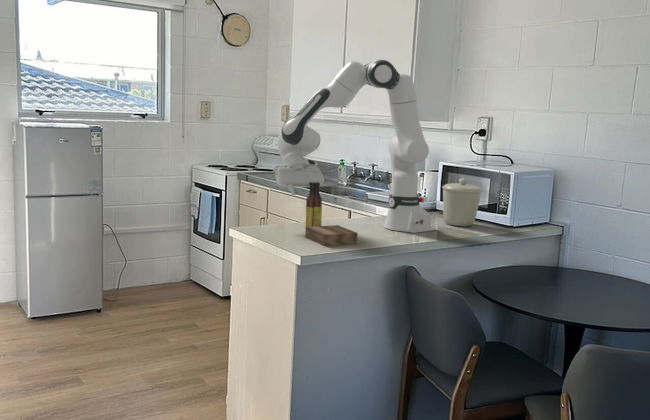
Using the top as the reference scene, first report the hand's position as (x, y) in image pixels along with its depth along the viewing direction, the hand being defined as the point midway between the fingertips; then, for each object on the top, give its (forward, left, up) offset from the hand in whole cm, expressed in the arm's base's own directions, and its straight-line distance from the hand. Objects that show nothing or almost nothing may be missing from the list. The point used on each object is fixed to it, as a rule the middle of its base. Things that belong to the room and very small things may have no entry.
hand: (305, 194), depth 254 cm
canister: (-76, +7, -14) cm, 78 cm away
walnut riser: (0, +22, -14) cm, 26 cm away
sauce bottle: (0, +8, -14) cm, 16 cm away
